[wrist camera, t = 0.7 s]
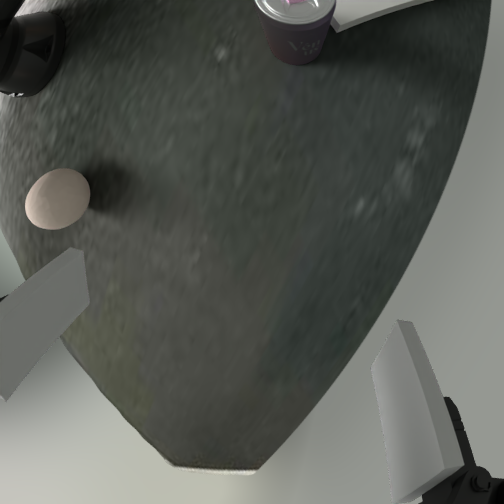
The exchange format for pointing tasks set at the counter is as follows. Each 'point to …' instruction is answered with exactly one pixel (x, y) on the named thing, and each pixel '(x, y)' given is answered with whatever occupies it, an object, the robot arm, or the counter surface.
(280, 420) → the counter surface
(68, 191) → the egg
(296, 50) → the beverage can
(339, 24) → the scale
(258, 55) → the counter surface
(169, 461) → the counter surface
